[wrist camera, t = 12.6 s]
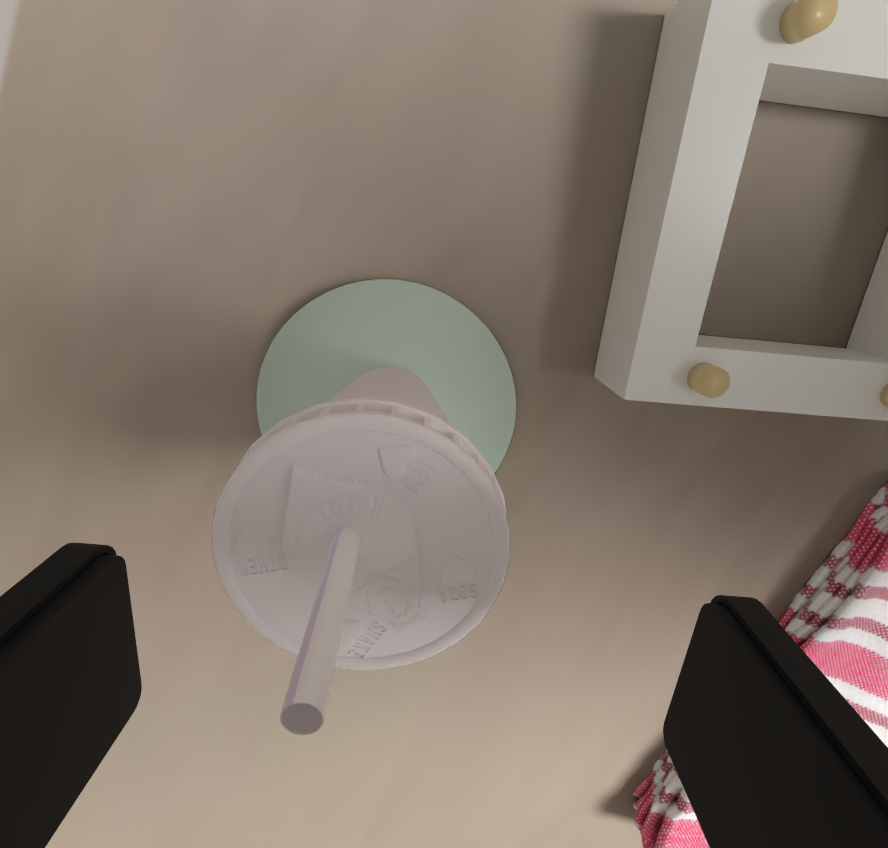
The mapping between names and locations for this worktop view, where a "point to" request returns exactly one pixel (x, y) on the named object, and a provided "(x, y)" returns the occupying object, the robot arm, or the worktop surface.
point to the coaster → (392, 357)
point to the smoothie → (361, 536)
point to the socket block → (710, 200)
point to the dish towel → (828, 646)
